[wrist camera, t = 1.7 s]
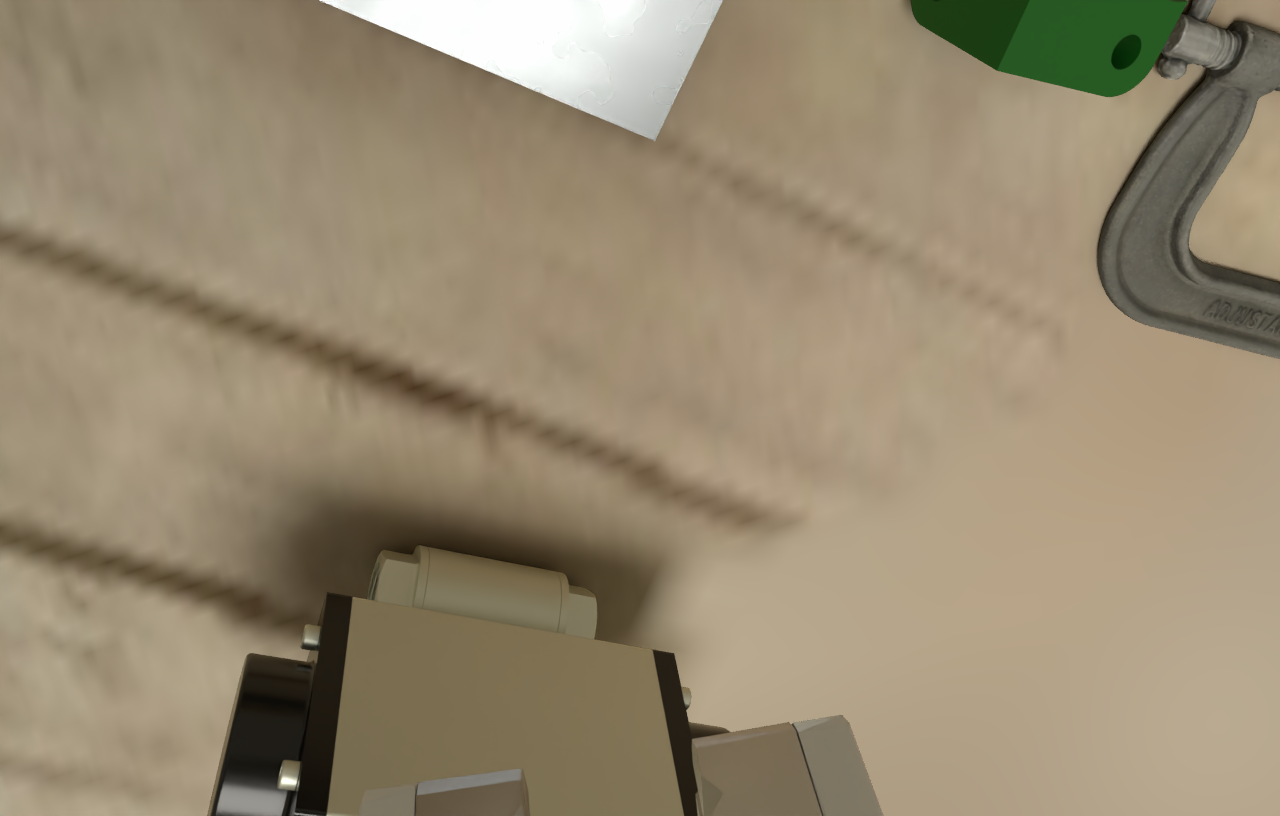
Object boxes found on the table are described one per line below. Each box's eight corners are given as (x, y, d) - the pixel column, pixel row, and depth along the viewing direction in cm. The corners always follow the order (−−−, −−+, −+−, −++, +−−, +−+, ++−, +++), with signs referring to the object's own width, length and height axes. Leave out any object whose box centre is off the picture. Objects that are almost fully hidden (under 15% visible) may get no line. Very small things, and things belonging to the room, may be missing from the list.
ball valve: (249, 622, 50) (159, 1025, 35) (287, 470, 46) (204, 854, 31) (632, 685, 55) (693, 1059, 40) (697, 554, 51) (791, 917, 36)
